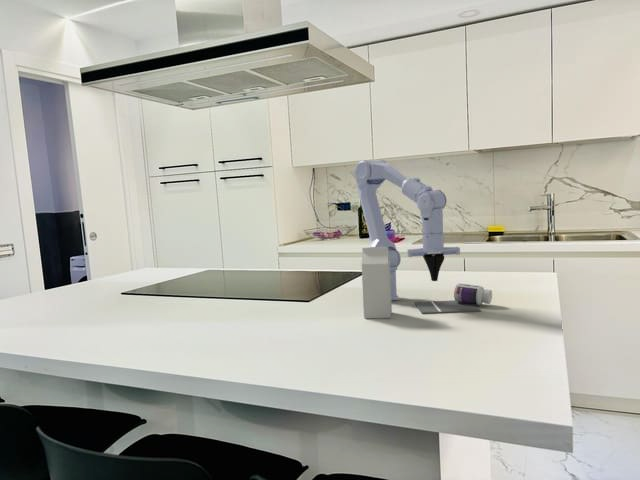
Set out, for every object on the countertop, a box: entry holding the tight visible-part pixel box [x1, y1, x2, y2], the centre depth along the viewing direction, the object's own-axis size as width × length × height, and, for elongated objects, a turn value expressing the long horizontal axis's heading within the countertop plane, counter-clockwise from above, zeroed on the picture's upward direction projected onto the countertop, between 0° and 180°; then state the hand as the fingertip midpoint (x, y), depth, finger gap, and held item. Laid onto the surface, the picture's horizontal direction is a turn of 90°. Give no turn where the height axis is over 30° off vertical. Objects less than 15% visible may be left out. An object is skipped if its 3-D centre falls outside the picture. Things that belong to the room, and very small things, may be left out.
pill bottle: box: [453, 283, 493, 306], centre depth 143 cm, size 5×5×10 cm
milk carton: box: [361, 247, 393, 319], centre depth 136 cm, size 7×7×19 cm
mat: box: [414, 299, 482, 315], centre depth 142 cm, size 16×13×1 cm
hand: (434, 280), depth 142 cm, fingers closed
